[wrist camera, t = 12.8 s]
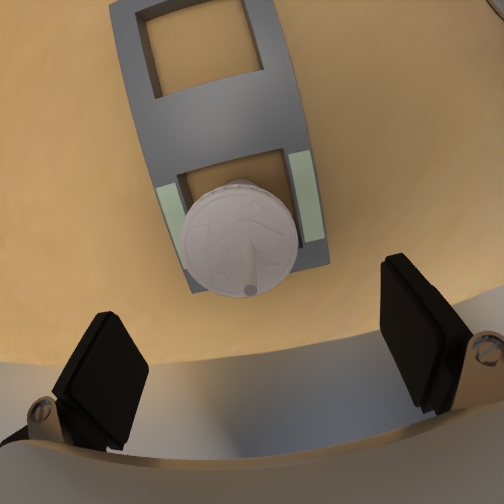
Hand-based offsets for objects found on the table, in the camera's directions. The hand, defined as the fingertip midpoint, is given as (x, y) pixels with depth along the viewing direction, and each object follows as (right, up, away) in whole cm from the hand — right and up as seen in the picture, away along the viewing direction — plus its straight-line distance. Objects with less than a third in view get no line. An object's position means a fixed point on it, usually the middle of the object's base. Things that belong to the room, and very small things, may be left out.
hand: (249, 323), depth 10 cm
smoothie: (-1, +7, +15) cm, 16 cm away
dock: (-2, +13, +12) cm, 17 cm away
